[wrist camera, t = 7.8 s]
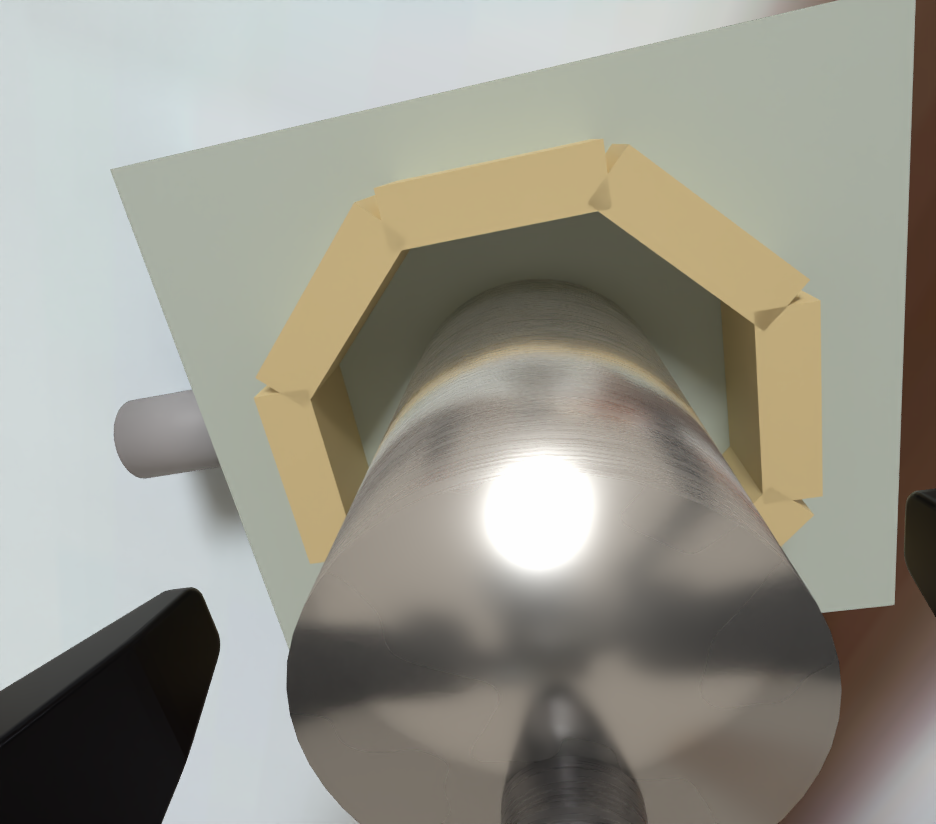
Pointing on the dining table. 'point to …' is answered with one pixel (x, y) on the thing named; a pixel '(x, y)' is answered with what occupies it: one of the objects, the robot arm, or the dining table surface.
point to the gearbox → (559, 274)
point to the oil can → (557, 597)
